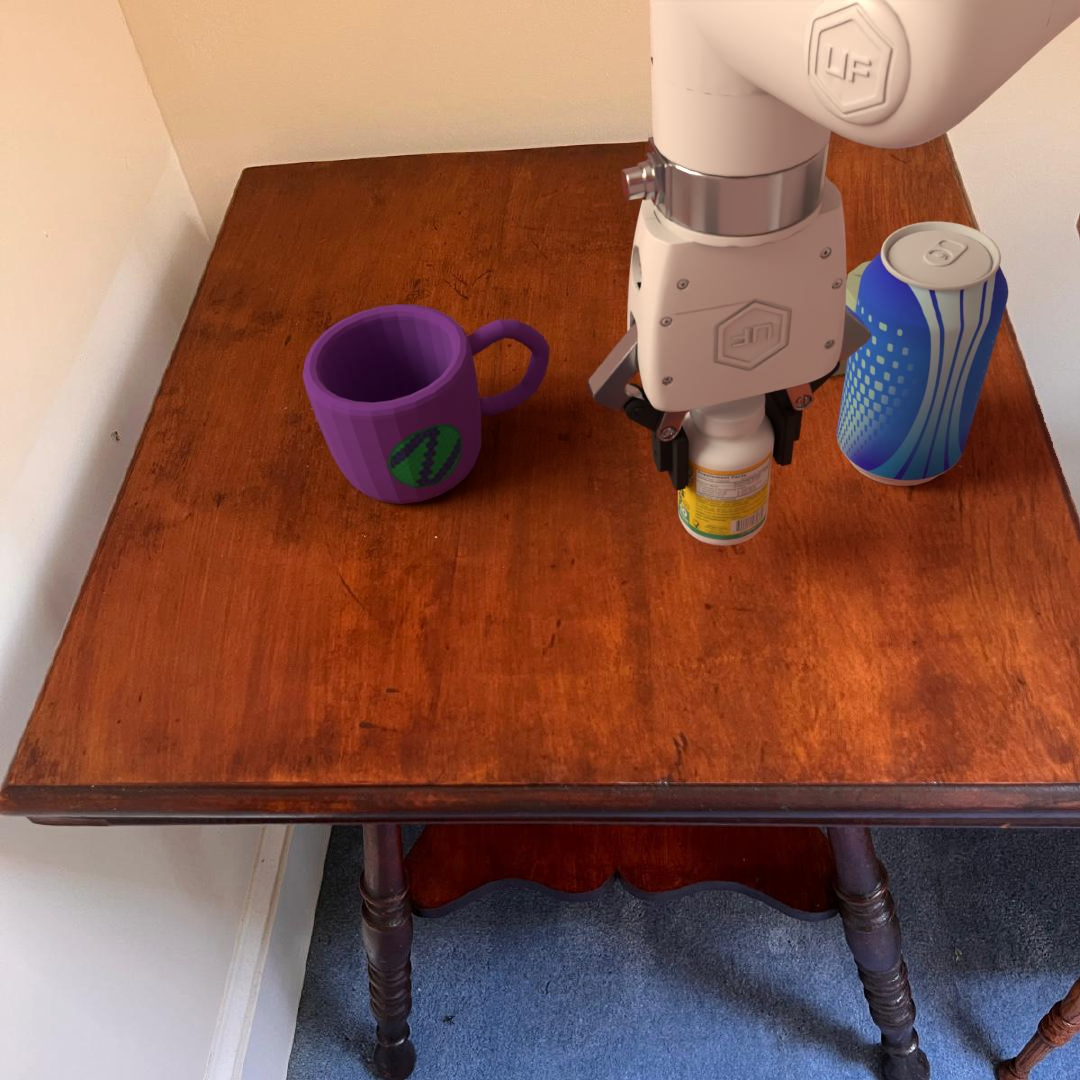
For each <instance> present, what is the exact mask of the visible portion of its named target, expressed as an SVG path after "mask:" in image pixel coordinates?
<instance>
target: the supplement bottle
mask: <svg viewBox="0 0 1080 1080" xmlns="http://www.w3.org/2000/svg"><path fill="white" fill-rule="evenodd" d="M682 426H683V428H684V430H685V433H686V435H687V437H688V441H689V470H688V486H686V488H685V489H682V490H678V491H677V513H678V519H679V520H680V523H681V524H682V526H683V527H684V529H685V530H686V532H687V533H688V534H689V535H690V536H692V537H693V538H695V539H697V540H698V541H700V542H702V543H705V544H708V545H711V546H720V547H722V546H723V547H729V546H734V545H738V544H742V543H745V542H747V541H749V540H750V539H752V538H754V537H755V536H756V535H757V534H758V533H759V532H761V530H762V528H763V527H764V525H765V523H766V520H767V518H768V509H769V497H770V489H771V488H770V486H771V477H772V468H773V467H772V465H773V447H774V429H773V426H772V424H771V421H770V420H769V418H768V417H767V415H766V414H765V393H764V394H760V395H756V396H751V397H747V398H743V399H738V400H734V401H729V402H725V403H720V404H716V405H711V406H707V407H702V408H697V409H692V410H688V411H687V414H686V416H685V419H684V421H683V424H682Z"/></svg>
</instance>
